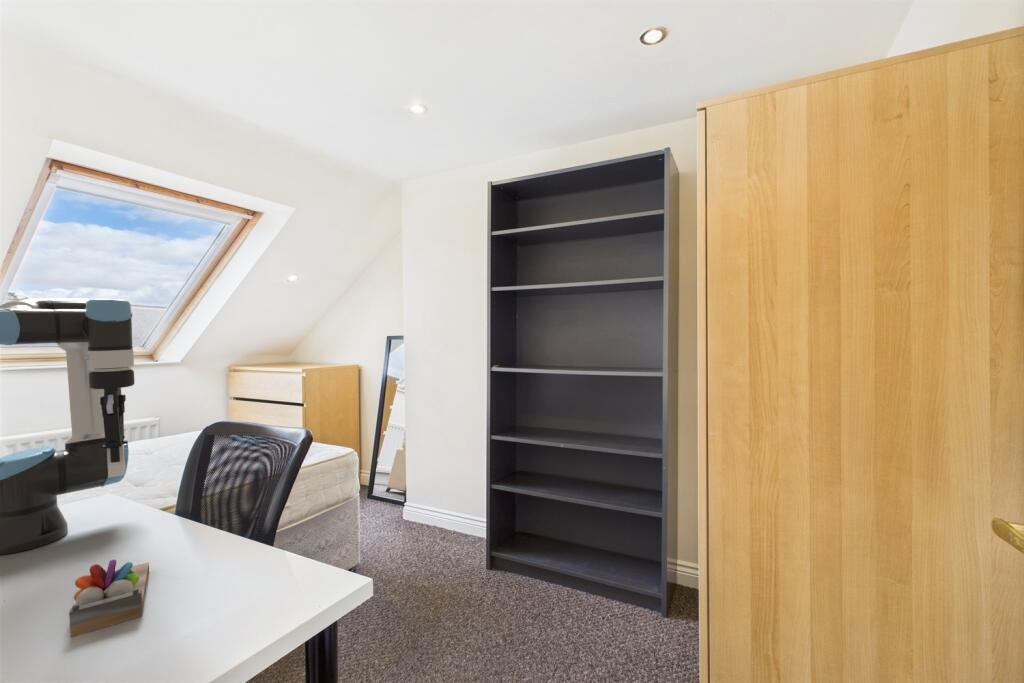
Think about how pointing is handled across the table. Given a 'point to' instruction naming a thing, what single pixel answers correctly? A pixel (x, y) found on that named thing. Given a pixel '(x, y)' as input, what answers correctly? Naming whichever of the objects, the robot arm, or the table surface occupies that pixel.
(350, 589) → the table surface
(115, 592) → the rainbow wooden ball puzzle
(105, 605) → the wooden display stand
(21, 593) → the table surface
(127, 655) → the table surface
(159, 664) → the table surface
